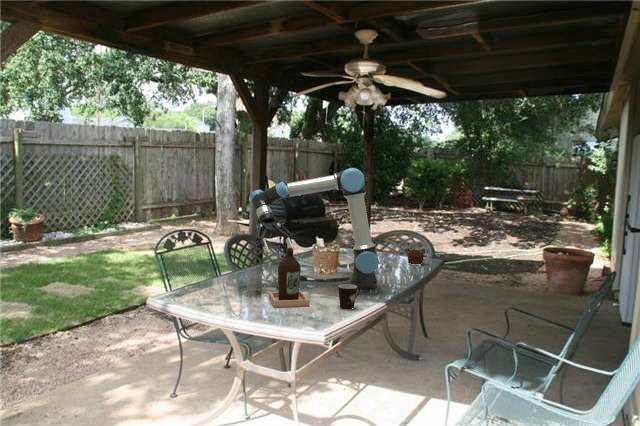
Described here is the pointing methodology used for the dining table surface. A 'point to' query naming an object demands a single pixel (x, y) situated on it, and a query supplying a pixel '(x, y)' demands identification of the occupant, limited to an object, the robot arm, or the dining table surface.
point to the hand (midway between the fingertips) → (279, 250)
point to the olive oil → (289, 277)
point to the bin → (288, 301)
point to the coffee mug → (347, 295)
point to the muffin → (415, 257)
